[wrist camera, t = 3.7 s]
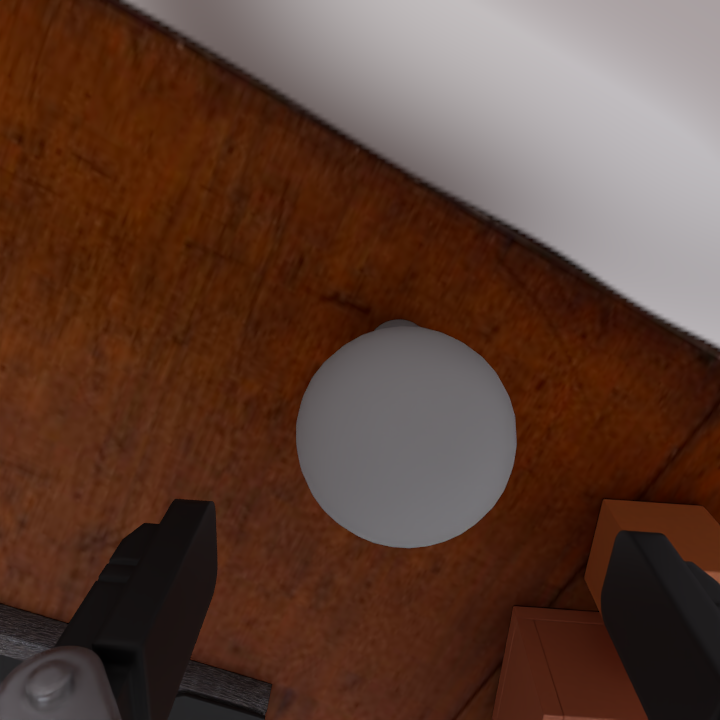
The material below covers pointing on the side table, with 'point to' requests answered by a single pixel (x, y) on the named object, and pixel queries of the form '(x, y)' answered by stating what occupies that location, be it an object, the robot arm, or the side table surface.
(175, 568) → the robot arm
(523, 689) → the terracotta bin
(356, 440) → the lightbulb
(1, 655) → the picture frame
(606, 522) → the block
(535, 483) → the side table surface
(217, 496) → the side table surface
